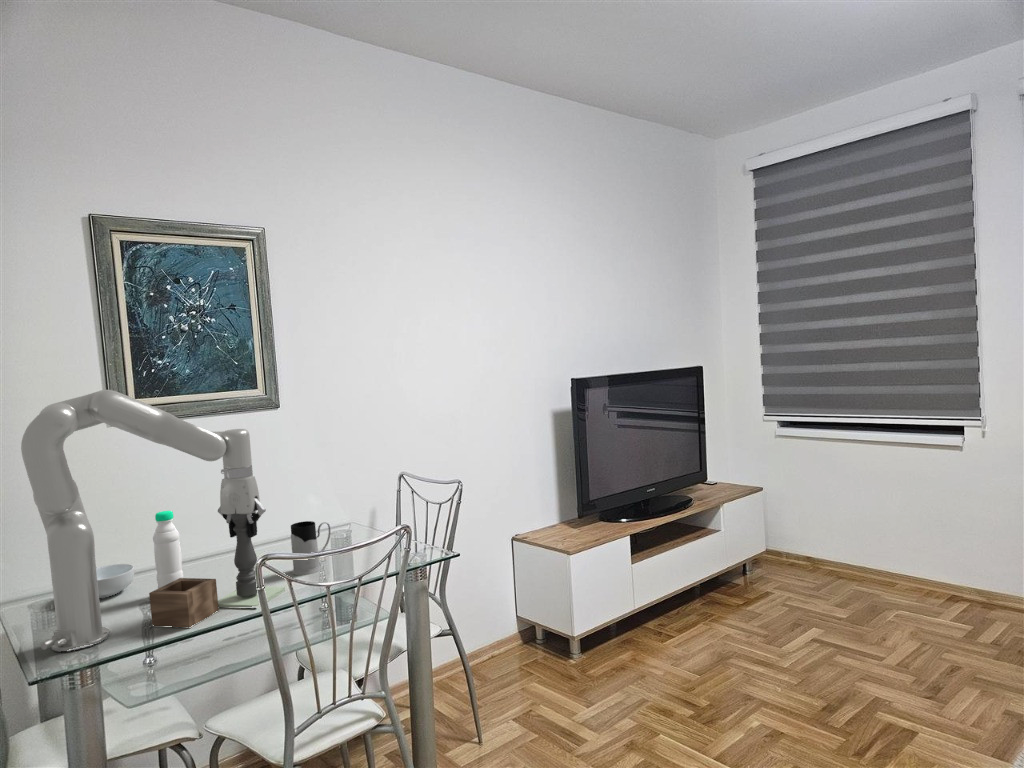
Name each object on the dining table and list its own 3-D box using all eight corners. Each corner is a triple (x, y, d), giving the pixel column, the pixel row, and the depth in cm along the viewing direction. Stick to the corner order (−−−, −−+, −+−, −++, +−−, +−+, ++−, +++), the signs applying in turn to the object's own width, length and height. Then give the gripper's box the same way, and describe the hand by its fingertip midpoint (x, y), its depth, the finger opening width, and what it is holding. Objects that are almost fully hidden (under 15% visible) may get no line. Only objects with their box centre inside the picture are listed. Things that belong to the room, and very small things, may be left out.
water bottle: (174, 599, 203) (166, 514, 201) (153, 599, 204) (144, 515, 203) (190, 590, 210) (182, 508, 208) (169, 590, 211) (161, 509, 210)
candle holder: (264, 590, 200) (257, 504, 199) (245, 597, 195) (238, 509, 193) (250, 587, 203) (243, 502, 202) (231, 594, 198) (224, 507, 197)
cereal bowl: (141, 593, 210) (139, 570, 210) (76, 609, 200) (74, 585, 199) (130, 581, 223) (128, 559, 223) (69, 595, 213) (66, 572, 213)
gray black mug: (286, 572, 222) (282, 525, 221) (324, 559, 232) (321, 515, 232) (302, 577, 216) (298, 529, 215) (340, 564, 227) (337, 518, 226)
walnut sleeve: (189, 628, 180) (186, 594, 179) (152, 626, 183) (149, 593, 182) (218, 611, 191) (215, 578, 191) (182, 609, 194) (179, 577, 193)
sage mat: (256, 609, 191) (256, 605, 191) (212, 607, 194) (212, 603, 194) (285, 590, 204) (284, 587, 204) (243, 589, 208) (242, 586, 208)
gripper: (203, 476, 196) (208, 539, 197) (257, 475, 191) (262, 540, 192) (220, 470, 203) (225, 532, 204) (272, 470, 199) (277, 532, 200)
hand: (243, 535), depth 198 cm, fingers closed on candle holder, 5 cm apart
